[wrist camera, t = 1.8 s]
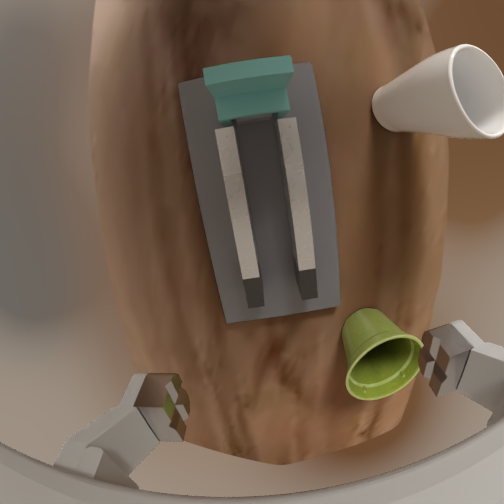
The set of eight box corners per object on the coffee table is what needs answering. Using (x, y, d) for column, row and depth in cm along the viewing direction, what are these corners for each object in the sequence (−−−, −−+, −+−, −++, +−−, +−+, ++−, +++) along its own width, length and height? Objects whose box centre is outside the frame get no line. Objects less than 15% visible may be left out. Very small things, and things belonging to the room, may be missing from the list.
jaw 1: (220, 133, 25) (214, 129, 21) (236, 130, 25) (233, 126, 21) (248, 289, 30) (248, 308, 26) (263, 287, 30) (264, 306, 26)
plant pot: (404, 328, 34) (432, 368, 26) (348, 366, 36) (365, 411, 28) (379, 280, 32) (411, 318, 24) (315, 324, 34) (330, 372, 26)
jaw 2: (273, 124, 25) (277, 119, 21) (289, 122, 25) (296, 117, 21) (296, 281, 30) (302, 300, 26) (310, 279, 30) (318, 297, 26)
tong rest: (181, 86, 25) (169, 76, 21) (308, 66, 24) (318, 52, 20) (227, 316, 33) (224, 338, 29) (337, 299, 33) (347, 319, 28)
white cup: (394, 151, 27) (490, 160, 13) (351, 106, 25) (431, 75, 11) (426, 112, 25) (521, 104, 11) (386, 68, 24) (470, 27, 10)
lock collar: (219, 96, 24) (201, 68, 15) (278, 87, 23) (291, 55, 14) (224, 126, 25) (209, 112, 16) (283, 117, 24) (300, 98, 15)
